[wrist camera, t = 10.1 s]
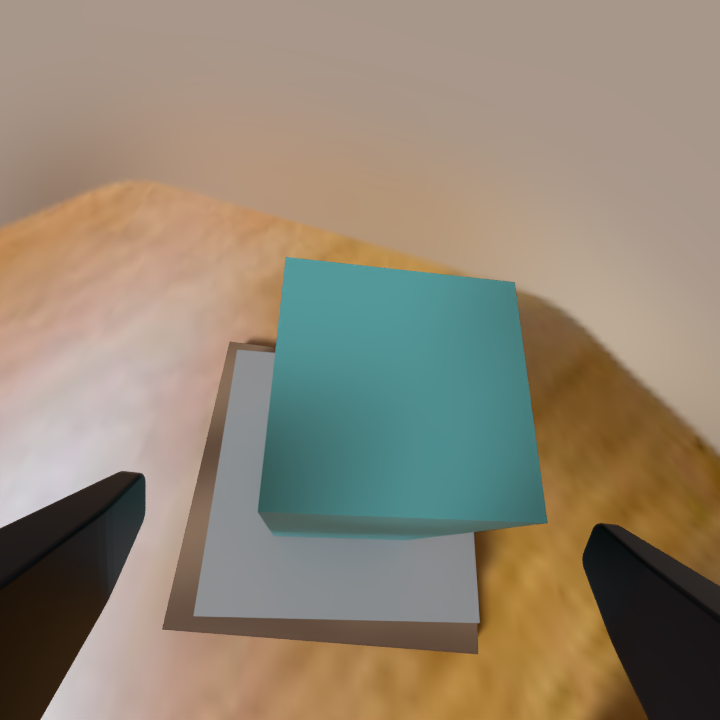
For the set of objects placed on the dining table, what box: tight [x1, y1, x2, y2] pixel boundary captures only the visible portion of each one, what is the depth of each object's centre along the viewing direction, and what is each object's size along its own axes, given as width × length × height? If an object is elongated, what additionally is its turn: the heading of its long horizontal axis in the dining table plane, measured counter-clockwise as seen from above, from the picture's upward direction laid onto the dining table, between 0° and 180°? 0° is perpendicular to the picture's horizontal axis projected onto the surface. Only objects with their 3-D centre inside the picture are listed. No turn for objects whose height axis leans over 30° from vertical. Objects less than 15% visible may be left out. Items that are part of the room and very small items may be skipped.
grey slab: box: [193, 350, 480, 623], centre depth 19 cm, size 10×10×2 cm
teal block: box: [258, 257, 547, 540], centre depth 13 cm, size 5×5×10 cm
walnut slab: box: [162, 342, 478, 654], centre depth 20 cm, size 12×12×2 cm
